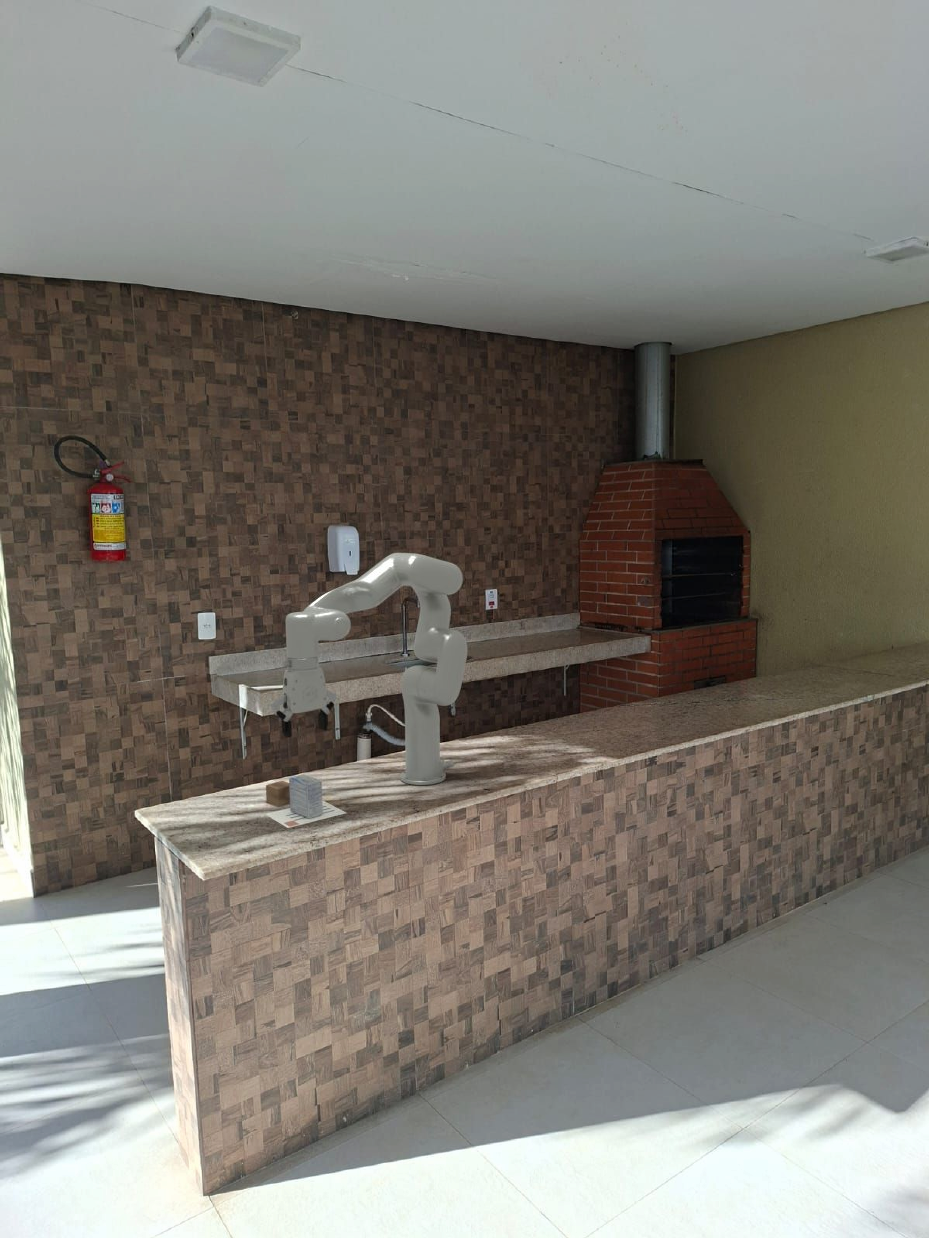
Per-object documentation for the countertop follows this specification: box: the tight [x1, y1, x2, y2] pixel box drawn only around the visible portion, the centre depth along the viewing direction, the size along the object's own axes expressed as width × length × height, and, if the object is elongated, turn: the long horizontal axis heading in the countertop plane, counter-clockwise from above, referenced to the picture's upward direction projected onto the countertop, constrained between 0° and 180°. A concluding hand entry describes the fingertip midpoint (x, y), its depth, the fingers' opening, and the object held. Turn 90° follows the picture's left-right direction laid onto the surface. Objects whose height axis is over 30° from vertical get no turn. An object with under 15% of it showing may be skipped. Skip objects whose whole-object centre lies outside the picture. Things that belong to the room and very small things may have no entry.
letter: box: [264, 799, 347, 829], centre depth 214 cm, size 16×12×1 cm
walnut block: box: [265, 780, 290, 808], centre depth 222 cm, size 5×5×5 cm
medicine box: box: [288, 774, 323, 819], centre depth 214 cm, size 8×4×9 cm, turn 45°
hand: (305, 732), depth 212 cm, fingers open, 9 cm apart
